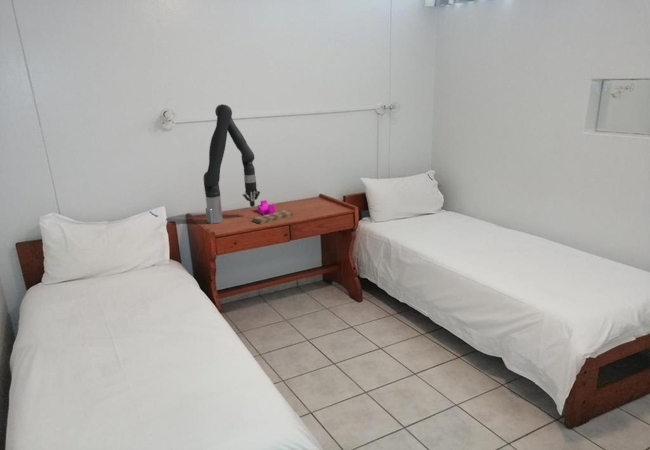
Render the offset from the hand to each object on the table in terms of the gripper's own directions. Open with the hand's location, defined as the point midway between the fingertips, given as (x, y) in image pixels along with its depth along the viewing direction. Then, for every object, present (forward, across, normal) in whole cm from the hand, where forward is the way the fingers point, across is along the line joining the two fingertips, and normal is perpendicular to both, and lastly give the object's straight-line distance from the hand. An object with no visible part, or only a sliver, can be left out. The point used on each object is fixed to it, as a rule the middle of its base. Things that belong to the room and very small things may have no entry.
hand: (252, 206), depth 313 cm
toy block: (+8, +11, +1) cm, 13 cm away
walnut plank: (+7, +7, -13) cm, 16 cm away
